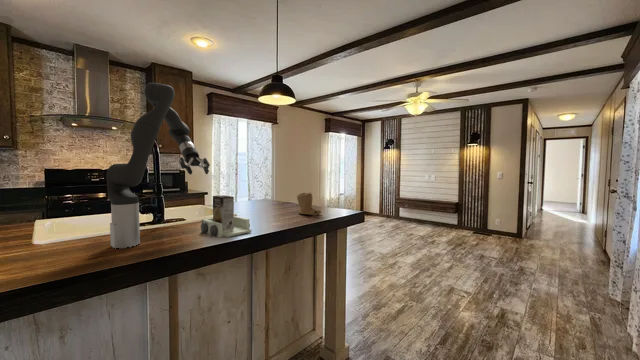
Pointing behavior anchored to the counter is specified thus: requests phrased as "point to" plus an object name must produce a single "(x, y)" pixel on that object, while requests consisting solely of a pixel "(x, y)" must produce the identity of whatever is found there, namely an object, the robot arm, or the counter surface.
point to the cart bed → (217, 230)
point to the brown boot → (306, 204)
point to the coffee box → (224, 211)
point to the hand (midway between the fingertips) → (199, 173)
